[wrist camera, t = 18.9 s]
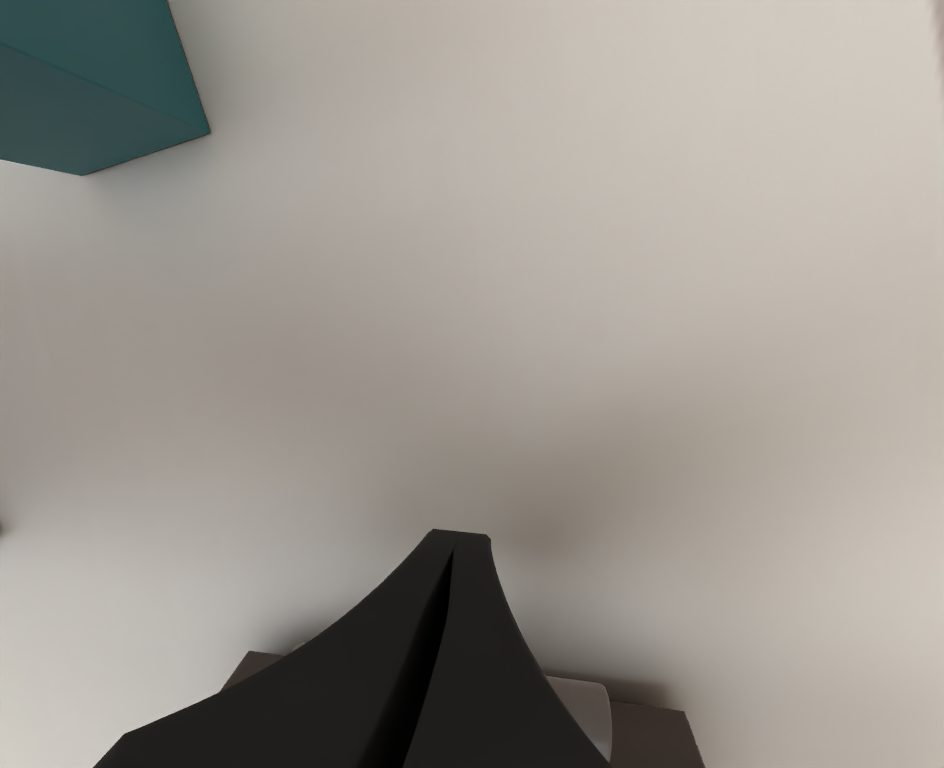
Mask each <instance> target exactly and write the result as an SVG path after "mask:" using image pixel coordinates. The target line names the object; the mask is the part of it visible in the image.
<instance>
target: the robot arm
mask: <svg viewBox="0 0 944 768" xmlns="http://www.w3.org/2000/svg"><path fill="white" fill-rule="evenodd" d="M93 768H613V767H612V766H611V765H610V763H609V762H608V761H607V760H606V759H605V757H604V756H603V755H602V754H601V752H600V751H599V750H598V749H597V747H596V746H595V745H594V744H593V743H592V741H591V740H590V739H589V738H588V736H587V735H586V734H585V733H584V731H583V730H582V728H581V727H580V726H579V724H578V723H577V721H576V720H575V719H574V717H573V716H572V715H571V713H570V712H569V710H568V709H567V708H566V706H565V705H564V703H563V702H562V701H561V699H560V698H559V696H558V695H557V694H556V692H555V691H554V689H553V688H552V686H551V685H550V683H549V681H548V680H547V678H546V677H545V675H544V673H543V672H542V670H541V669H540V667H539V665H538V663H537V662H536V660H535V658H534V656H533V655H532V653H531V651H530V649H529V648H528V646H527V644H526V642H525V640H524V638H523V636H522V634H521V632H520V630H519V628H518V626H517V623H516V621H515V619H514V617H513V615H512V613H511V610H510V608H509V605H508V603H507V601H506V598H505V595H504V592H503V590H502V587H501V584H500V581H499V578H498V575H497V572H496V568H495V565H494V561H493V556H492V551H491V539H490V538H489V537H488V536H487V535H486V534H477V533H467V532H458V531H448V530H439V529H433V530H431V531H430V532H429V533H428V534H427V535H426V536H425V537H424V538H423V540H422V541H421V542H420V543H419V544H418V545H417V547H416V548H415V549H414V550H413V551H412V552H411V553H410V554H409V555H408V557H407V558H406V559H405V560H404V561H403V562H402V563H401V564H400V565H399V566H398V567H397V568H396V569H395V570H394V571H393V572H392V573H391V574H390V575H389V576H388V577H387V578H386V579H385V580H384V581H383V582H382V583H381V584H380V585H379V586H378V587H377V588H375V589H374V590H373V591H372V592H371V593H370V594H369V595H368V596H366V597H365V598H364V599H363V600H362V601H361V602H360V603H359V604H357V605H356V606H355V607H354V608H353V609H352V610H350V611H349V612H348V613H347V614H345V615H344V616H343V617H342V618H340V619H339V620H338V621H336V622H335V623H334V624H332V625H331V626H330V627H328V628H327V629H326V630H324V631H323V632H322V633H320V634H319V635H317V636H316V637H315V638H313V639H312V640H310V641H308V642H307V643H305V644H304V645H302V646H300V647H299V648H297V649H296V650H294V651H292V652H291V653H289V654H288V655H286V656H284V657H283V658H281V659H280V660H278V661H276V662H275V663H273V664H272V665H270V666H268V667H266V668H264V669H263V670H261V671H259V672H257V673H255V674H254V675H252V676H250V677H248V678H246V679H244V680H243V681H241V682H239V683H237V684H235V685H233V686H231V687H229V688H227V689H225V690H223V691H221V692H219V693H217V694H215V695H213V696H211V697H209V698H206V699H204V700H202V701H200V702H198V703H196V704H193V705H191V706H189V707H187V708H184V709H182V710H180V711H177V712H175V713H173V714H170V715H168V716H166V717H164V718H161V719H159V720H157V721H154V722H152V723H150V724H147V725H145V726H143V727H140V728H138V729H135V730H133V731H130V732H128V733H125V734H124V735H123V736H122V737H121V738H120V739H119V740H118V741H117V742H116V743H115V744H114V746H113V747H112V748H111V749H110V750H109V751H108V752H107V753H106V754H105V755H104V756H103V757H102V758H101V760H100V761H99V762H98V763H97V764H96V765H95V766H94V767H93Z"/></svg>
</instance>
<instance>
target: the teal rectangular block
mask: <svg viewBox="0 0 944 768" xmlns="http://www.w3.org/2000/svg"><path fill="white" fill-rule="evenodd" d="M209 133H210V129H209V126H208V123H207V120H206V117H205V114H204V111H203V109H202V106H201V103H200V100H199V97H198V94H197V91H196V88H195V85H194V82H193V79H192V76H191V73H190V70H189V67H188V64H187V61H186V58H185V55H184V52H183V49H182V46H181V43H180V40H179V37H178V34H177V31H176V28H175V25H174V22H173V19H172V16H171V13H170V10H169V7H168V4H167V1H166V0H0V159H2V160H6V161H11V162H16V163H21V164H26V165H31V166H36V167H41V168H45V169H50V170H55V171H60V172H65V173H70V174H75V175H80V176H82V175H85V174H88V173H91V172H94V171H97V170H100V169H103V168H106V167H110V166H113V165H116V164H119V163H122V162H125V161H128V160H131V159H134V158H137V157H140V156H143V155H146V154H149V153H152V152H155V151H158V150H161V149H164V148H167V147H170V146H173V145H176V144H179V143H182V142H185V141H188V140H191V139H194V138H197V137H200V136H203V135H206V134H209Z"/></svg>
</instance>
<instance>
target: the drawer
mask: <svg viewBox="0 0 944 768" xmlns="http://www.w3.org/2000/svg"><path fill="white" fill-rule="evenodd" d="M304 644H305V643H300V644H298V645H296V646H295V647H294V648H293V650H292V651H294V650H296V649H297V648H299V647H300V646H302V645H304ZM292 651H291V652H292ZM283 657H284V656H283V655H276V654H269V653H261V652H254V651H248V653H247V654H246V656H245V657H244V658H243V660H242V661H241V663H240V664H239V665H238V667H237V668H236V670H235V671H234V672H233V674H232V675H231V677H230V678H229V680H228V681H227V682H226V684H225V685H224V687H223V688H222V689H221V691H223V690H225V689H227V688H229V687H231V686H233V685H235V684H237V683H239V682H241V681H243V680H244V679H246V678H248V677H250V676H252V675H254V674H255V673H257V672H259V671H261V670H263V669H264V668H266V667H268V666H270V665H272V664H273V663H275V662H276V661H278V660H280V659H281V658H283ZM545 677H546V678H547V680H548V681H549V683H550V685H551V686H552V688H553V689H554V691H555V692H556V694H557V695H558V696H559V698H560V699H561V701H562V702H563V703H564V705H565V706H566V708H567V709H568V710H569V712H570V713H571V715H572V716H573V717H574V719H575V720H576V721H577V723H578V724H579V726H580V727H581V728H582V730H583V731H584V733H585V734H586V735H587V736H588V738H589V739H590V740H591V741H592V743H593V744H594V745H595V746H596V747H597V749H598V750H599V751H600V752H601V754H602V755H603V756H604V757H605V759H606V760H607V761H608V762H609V763H610V765H611V766H612V767H613V768H705V767H704V764H703V761H702V759H701V756H700V753H699V750H698V748H697V745H696V742H695V740H694V737H693V734H692V731H691V729H690V726H689V723H688V720H687V718H686V715H685V712H684V711H678V710H671V709H664V708H656V707H649V706H642V705H635V704H628V703H620V702H613V701H609V698H608V694H607V691H606V688H605V686H604V685H602V684H600V683H595V682H587V681H580V680H573V679H565V678H558V677H551V676H545ZM221 691H220V692H221Z"/></svg>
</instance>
